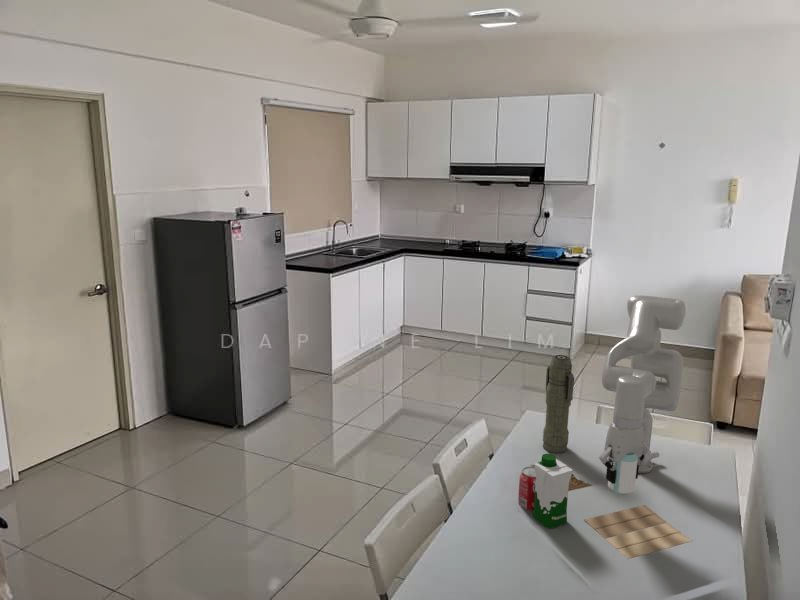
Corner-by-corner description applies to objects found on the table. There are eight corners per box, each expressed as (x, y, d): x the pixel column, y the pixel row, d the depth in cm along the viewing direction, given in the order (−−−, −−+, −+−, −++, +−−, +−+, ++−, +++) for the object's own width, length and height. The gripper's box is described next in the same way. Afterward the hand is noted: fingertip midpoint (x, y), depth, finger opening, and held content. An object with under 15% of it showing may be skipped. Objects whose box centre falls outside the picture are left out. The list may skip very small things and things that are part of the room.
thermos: (560, 457, 215) (567, 364, 207) (534, 445, 224) (540, 355, 216) (575, 450, 221) (583, 359, 212) (549, 438, 230) (556, 350, 222)
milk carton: (550, 511, 183) (555, 450, 178) (572, 527, 175) (577, 463, 170) (527, 518, 179) (531, 456, 174) (548, 535, 171) (553, 470, 166)
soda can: (543, 504, 186) (546, 468, 184) (538, 516, 180) (541, 479, 177) (521, 498, 189) (523, 463, 187) (515, 510, 183) (517, 474, 180)
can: (614, 479, 177) (618, 442, 174) (638, 489, 172) (642, 450, 169) (603, 488, 172) (606, 449, 169) (627, 498, 167) (631, 458, 165)
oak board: (667, 526, 176) (667, 522, 175) (691, 544, 167) (692, 540, 167) (605, 542, 168) (605, 538, 168) (627, 562, 160) (628, 558, 159)
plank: (644, 508, 184) (644, 504, 184) (666, 525, 176) (666, 521, 176) (583, 523, 176) (584, 519, 176) (604, 542, 168) (604, 537, 168)
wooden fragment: (606, 493, 193) (606, 490, 193) (583, 504, 187) (583, 501, 187) (544, 460, 214) (545, 458, 214) (522, 469, 208) (522, 466, 208)
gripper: (642, 411, 174) (636, 467, 178) (592, 419, 168) (587, 477, 172) (662, 421, 167) (655, 480, 171) (611, 430, 161) (605, 491, 165)
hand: (621, 478), depth 171 cm, fingers closed on can, 7 cm apart
